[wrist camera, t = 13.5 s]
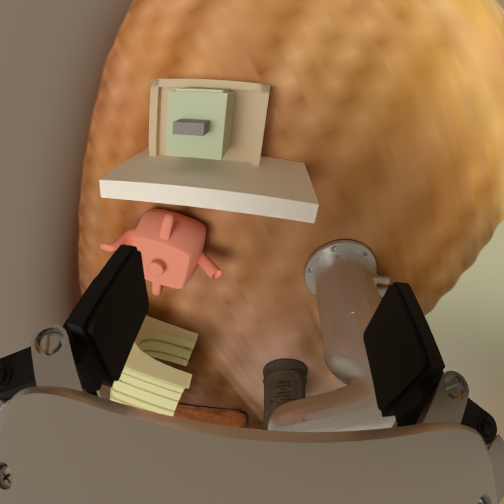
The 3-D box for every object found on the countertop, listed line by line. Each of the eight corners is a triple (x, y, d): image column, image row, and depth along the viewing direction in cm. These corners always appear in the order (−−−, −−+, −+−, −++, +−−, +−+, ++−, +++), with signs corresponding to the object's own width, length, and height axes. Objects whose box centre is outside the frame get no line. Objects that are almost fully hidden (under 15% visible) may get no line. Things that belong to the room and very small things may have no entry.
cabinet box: (235, 89, 29) (223, 91, 22) (229, 147, 33) (217, 166, 26) (185, 87, 28) (159, 89, 22) (182, 143, 33) (157, 162, 26)
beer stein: (255, 361, 63) (251, 440, 47) (299, 352, 60) (303, 436, 44) (276, 386, 71) (275, 453, 56) (314, 379, 68) (318, 448, 53)
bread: (167, 399, 81) (157, 439, 68) (247, 408, 80) (243, 452, 67) (176, 414, 89) (168, 450, 76) (247, 423, 87) (244, 461, 75)
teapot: (200, 185, 40) (179, 216, 32) (230, 250, 46) (220, 292, 38) (126, 214, 43) (96, 248, 35) (159, 269, 49) (139, 309, 41)
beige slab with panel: (316, 93, 31) (342, 98, 20) (301, 176, 38) (314, 223, 26) (152, 79, 31) (96, 84, 20) (149, 159, 38) (101, 197, 26)
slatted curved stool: (132, 282, 52) (94, 353, 37) (208, 309, 54) (188, 388, 39) (127, 356, 68) (106, 411, 53) (181, 376, 70) (167, 433, 56)
